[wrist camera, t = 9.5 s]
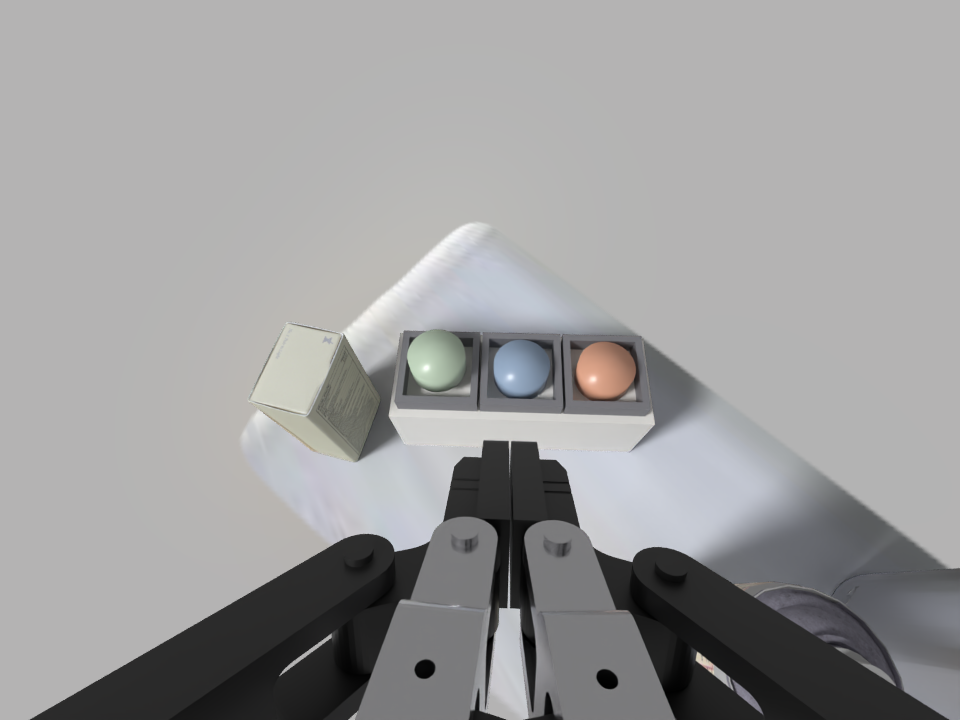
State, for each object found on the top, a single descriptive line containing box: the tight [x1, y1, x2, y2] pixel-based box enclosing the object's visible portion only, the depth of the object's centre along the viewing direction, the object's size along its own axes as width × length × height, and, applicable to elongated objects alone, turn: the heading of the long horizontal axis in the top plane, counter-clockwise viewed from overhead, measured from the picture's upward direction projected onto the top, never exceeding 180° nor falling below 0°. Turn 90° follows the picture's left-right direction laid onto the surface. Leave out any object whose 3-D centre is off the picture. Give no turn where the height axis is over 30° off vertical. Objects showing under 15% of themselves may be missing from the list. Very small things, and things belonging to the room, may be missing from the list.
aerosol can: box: [696, 582, 905, 714], centre depth 24 cm, size 7×7×20 cm
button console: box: [389, 331, 655, 452], centre depth 37 cm, size 19×7×8 cm, turn 88°
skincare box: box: [248, 322, 381, 462], centre depth 35 cm, size 6×4×12 cm
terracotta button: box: [574, 342, 636, 401], centre depth 34 cm, size 4×4×2 cm
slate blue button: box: [494, 340, 550, 399], centre depth 34 cm, size 4×4×2 cm
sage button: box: [407, 330, 466, 392], centre depth 33 cm, size 4×4×2 cm
